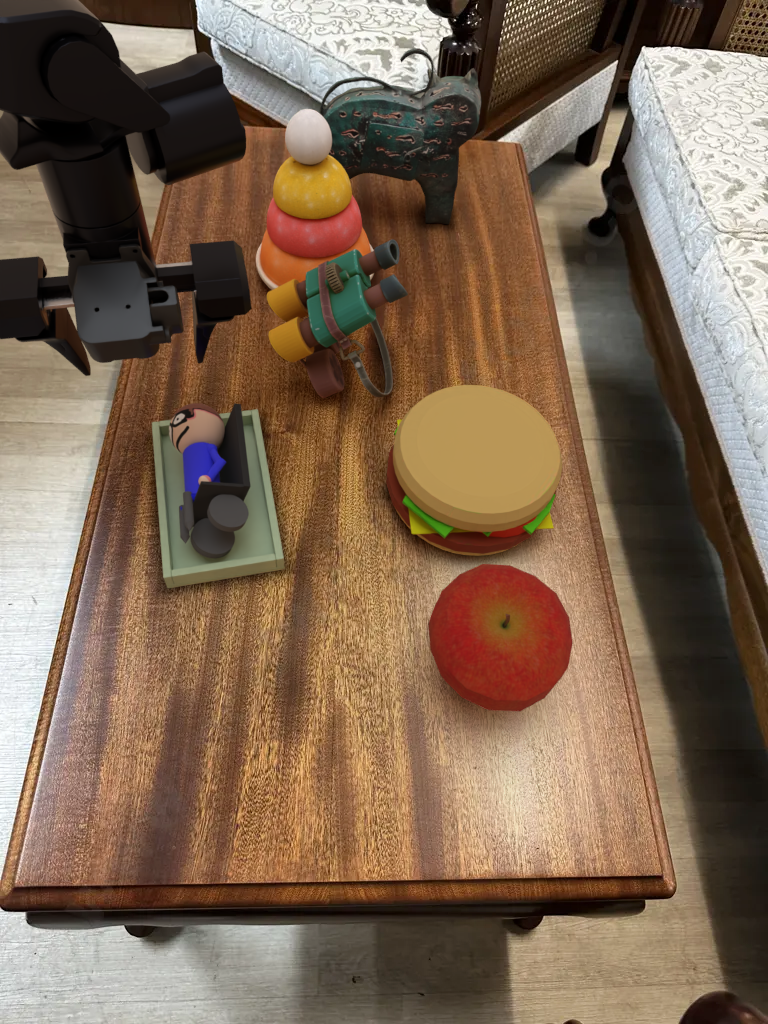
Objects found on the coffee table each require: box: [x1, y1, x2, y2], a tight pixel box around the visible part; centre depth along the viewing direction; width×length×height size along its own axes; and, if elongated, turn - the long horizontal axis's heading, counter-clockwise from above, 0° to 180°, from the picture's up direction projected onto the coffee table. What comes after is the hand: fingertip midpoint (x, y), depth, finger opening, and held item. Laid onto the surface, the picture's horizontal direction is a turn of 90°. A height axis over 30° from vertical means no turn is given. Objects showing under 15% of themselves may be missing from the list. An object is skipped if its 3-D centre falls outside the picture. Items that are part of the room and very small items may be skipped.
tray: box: [151, 408, 286, 589], centre depth 68 cm, size 10×17×2 cm, turn 13°
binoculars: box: [266, 238, 409, 399], centre depth 73 cm, size 14×14×15 cm
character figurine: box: [169, 402, 251, 559], centre depth 65 cm, size 8×7×15 cm
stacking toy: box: [255, 108, 375, 291], centre depth 79 cm, size 14×14×20 cm
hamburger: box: [385, 384, 563, 557], centre depth 68 cm, size 16×16×8 cm
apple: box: [427, 563, 574, 712], centre depth 56 cm, size 11×11×12 cm
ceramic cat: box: [318, 47, 482, 225], centre depth 86 cm, size 20×6×20 cm, turn 89°
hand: (144, 365), depth 61 cm, fingers open, 9 cm apart
